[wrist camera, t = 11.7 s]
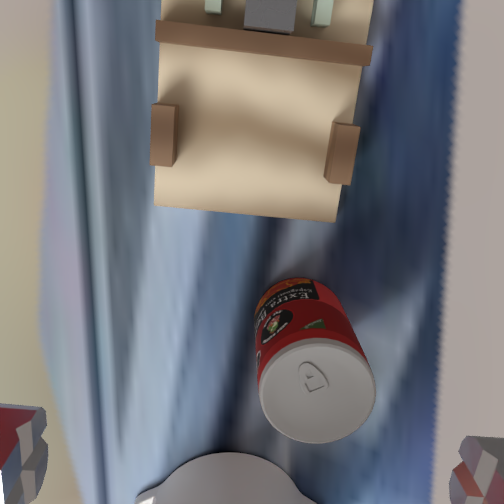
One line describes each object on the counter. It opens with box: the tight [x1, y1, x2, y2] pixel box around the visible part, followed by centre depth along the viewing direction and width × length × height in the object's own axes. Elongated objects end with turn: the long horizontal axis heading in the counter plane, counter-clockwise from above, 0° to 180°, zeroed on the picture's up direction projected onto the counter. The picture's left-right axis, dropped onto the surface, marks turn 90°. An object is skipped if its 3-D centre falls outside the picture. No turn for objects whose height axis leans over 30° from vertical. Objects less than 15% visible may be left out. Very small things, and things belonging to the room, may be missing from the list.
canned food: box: [254, 278, 376, 444], centre depth 36 cm, size 8×8×11 cm
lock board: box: [150, 0, 374, 223], centre depth 32 cm, size 24×14×4 cm, turn 174°
